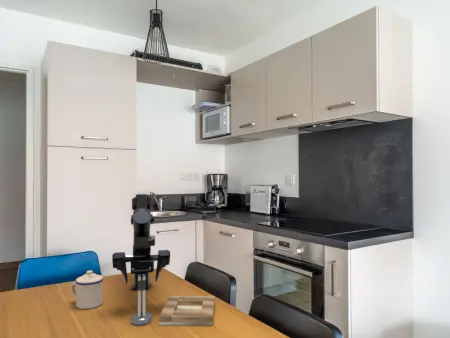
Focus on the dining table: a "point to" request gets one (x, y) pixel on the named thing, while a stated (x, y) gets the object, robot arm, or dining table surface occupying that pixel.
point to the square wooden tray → (188, 311)
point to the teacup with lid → (88, 290)
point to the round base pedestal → (140, 317)
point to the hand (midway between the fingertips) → (141, 282)
